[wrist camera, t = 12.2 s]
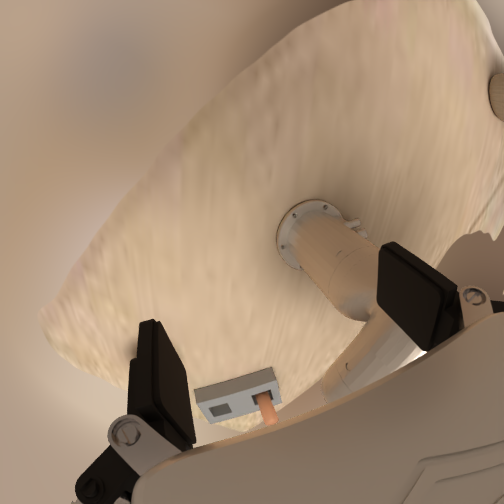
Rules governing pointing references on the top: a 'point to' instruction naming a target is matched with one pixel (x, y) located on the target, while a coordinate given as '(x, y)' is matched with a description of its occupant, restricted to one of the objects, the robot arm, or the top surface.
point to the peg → (266, 408)
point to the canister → (497, 95)
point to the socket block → (236, 396)
